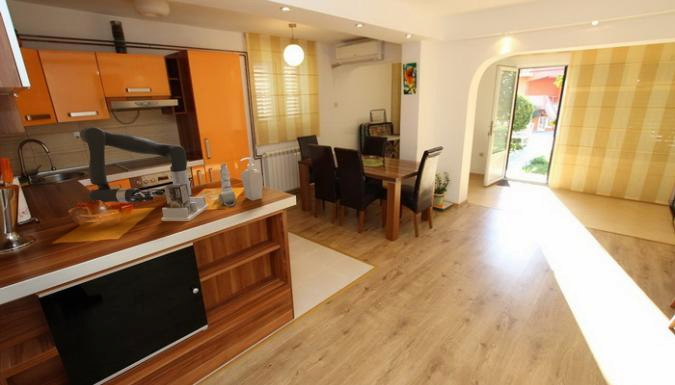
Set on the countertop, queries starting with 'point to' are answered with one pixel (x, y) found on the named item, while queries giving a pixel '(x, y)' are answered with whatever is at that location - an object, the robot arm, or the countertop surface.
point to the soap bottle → (252, 181)
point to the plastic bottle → (225, 178)
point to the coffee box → (177, 196)
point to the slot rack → (185, 210)
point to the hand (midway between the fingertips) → (158, 195)
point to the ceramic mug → (227, 198)
